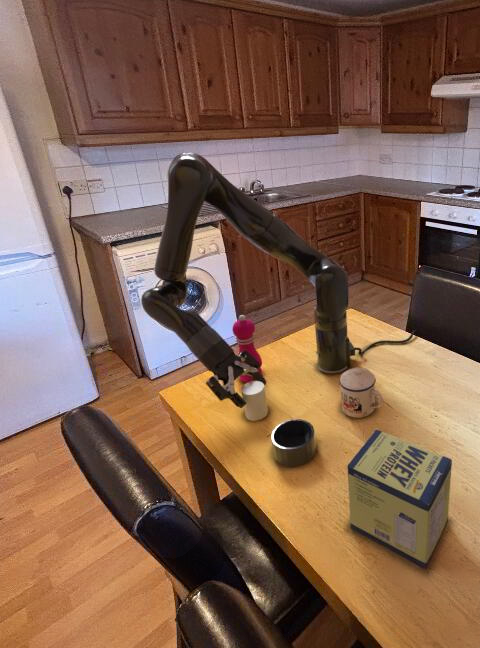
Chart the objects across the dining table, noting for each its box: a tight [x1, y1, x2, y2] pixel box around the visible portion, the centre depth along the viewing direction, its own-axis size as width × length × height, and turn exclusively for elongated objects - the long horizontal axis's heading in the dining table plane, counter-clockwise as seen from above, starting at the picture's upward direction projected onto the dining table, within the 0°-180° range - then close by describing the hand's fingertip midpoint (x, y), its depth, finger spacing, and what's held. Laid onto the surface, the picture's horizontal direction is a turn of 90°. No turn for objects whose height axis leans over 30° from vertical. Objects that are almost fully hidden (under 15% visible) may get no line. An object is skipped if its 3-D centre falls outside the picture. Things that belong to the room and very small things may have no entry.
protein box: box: [346, 429, 453, 569], centre depth 74 cm, size 10×16×16 cm
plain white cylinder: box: [240, 381, 269, 422], centre depth 104 cm, size 6×6×8 cm
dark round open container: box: [270, 418, 317, 468], centre depth 93 cm, size 9×9×5 cm
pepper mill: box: [232, 314, 263, 383], centre depth 117 cm, size 7×7×20 cm
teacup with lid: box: [338, 367, 384, 419], centre depth 104 cm, size 12×9×12 cm
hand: (254, 395), depth 104 cm, fingers open, 8 cm apart
